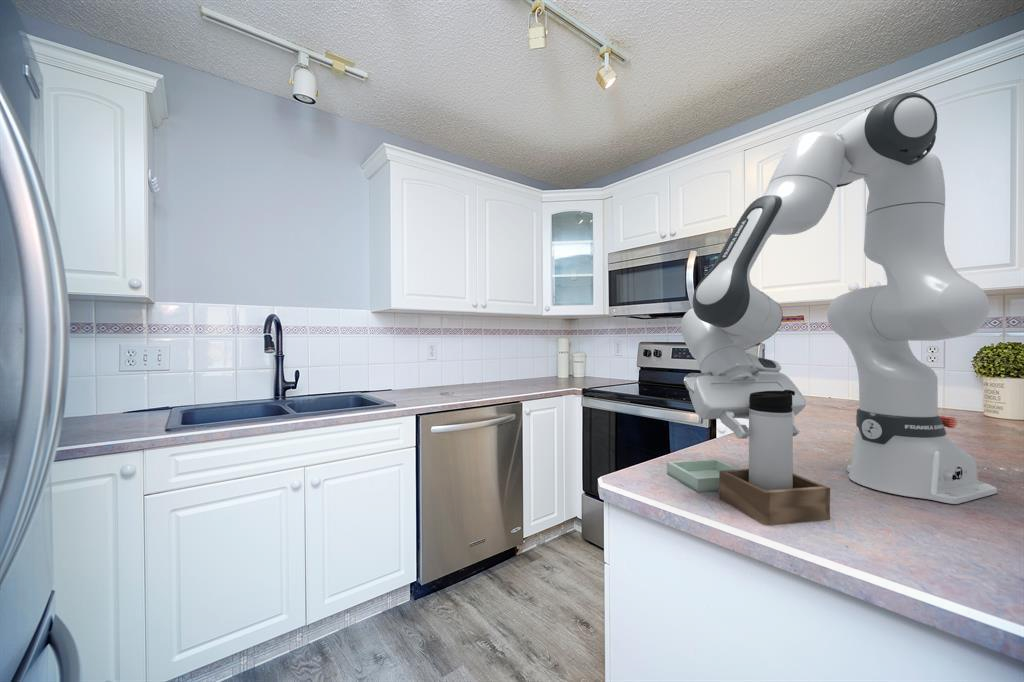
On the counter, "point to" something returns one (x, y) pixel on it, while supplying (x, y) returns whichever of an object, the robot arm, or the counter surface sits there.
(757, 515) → the square wooden frame
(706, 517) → the counter surface
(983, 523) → the counter surface
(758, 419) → the travel mug
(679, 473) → the dock
